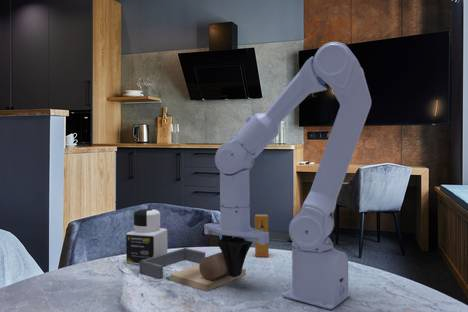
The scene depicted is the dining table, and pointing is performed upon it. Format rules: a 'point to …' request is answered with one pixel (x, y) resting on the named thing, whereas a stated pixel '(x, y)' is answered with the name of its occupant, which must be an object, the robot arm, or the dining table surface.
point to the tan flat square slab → (200, 278)
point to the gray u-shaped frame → (168, 261)
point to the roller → (213, 266)
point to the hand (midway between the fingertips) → (235, 275)
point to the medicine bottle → (146, 237)
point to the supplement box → (262, 225)
